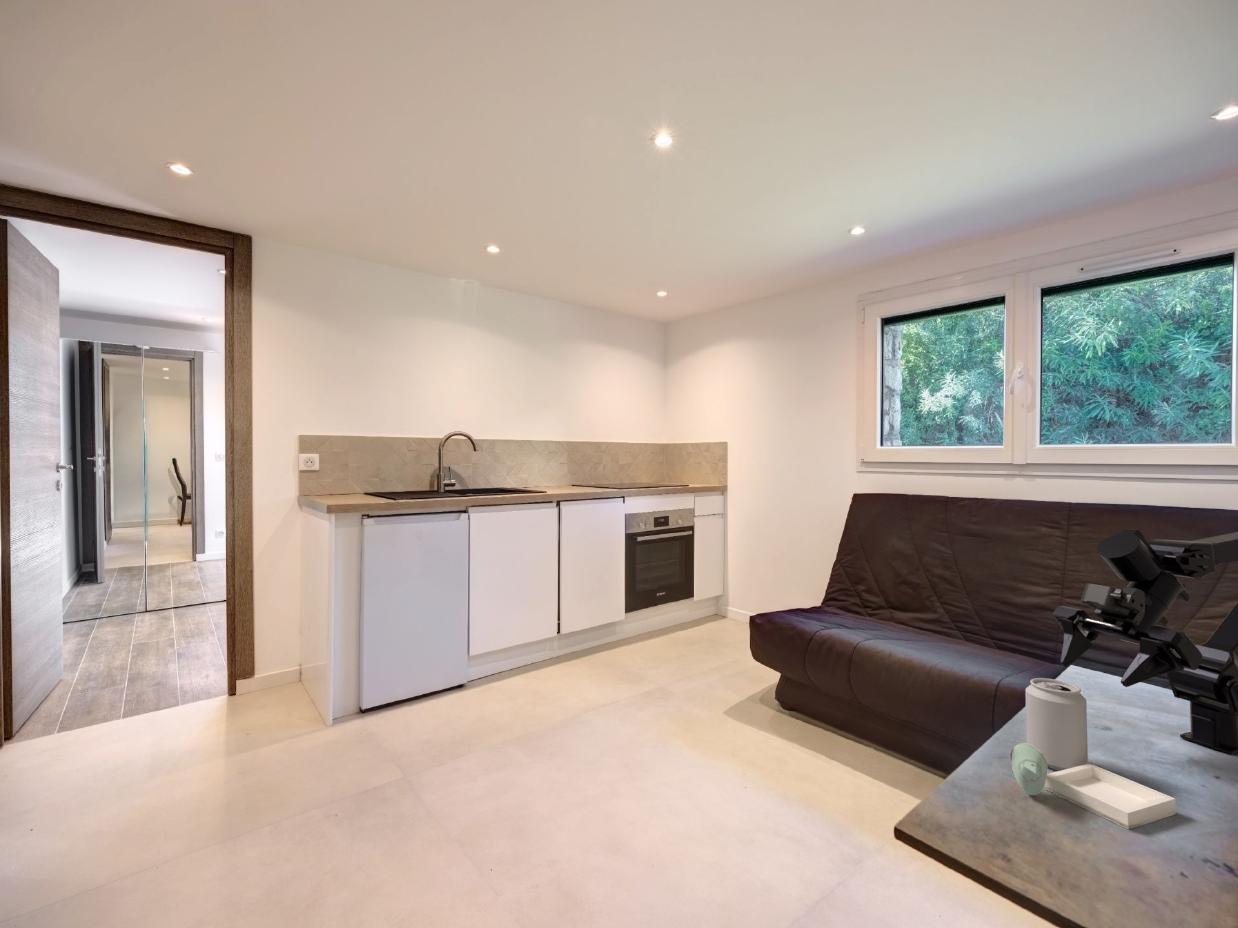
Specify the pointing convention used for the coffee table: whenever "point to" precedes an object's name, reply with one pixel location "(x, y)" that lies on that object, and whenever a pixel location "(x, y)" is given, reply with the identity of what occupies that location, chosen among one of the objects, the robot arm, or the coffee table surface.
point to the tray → (1110, 795)
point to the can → (1057, 722)
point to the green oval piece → (1029, 767)
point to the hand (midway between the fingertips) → (1091, 674)
